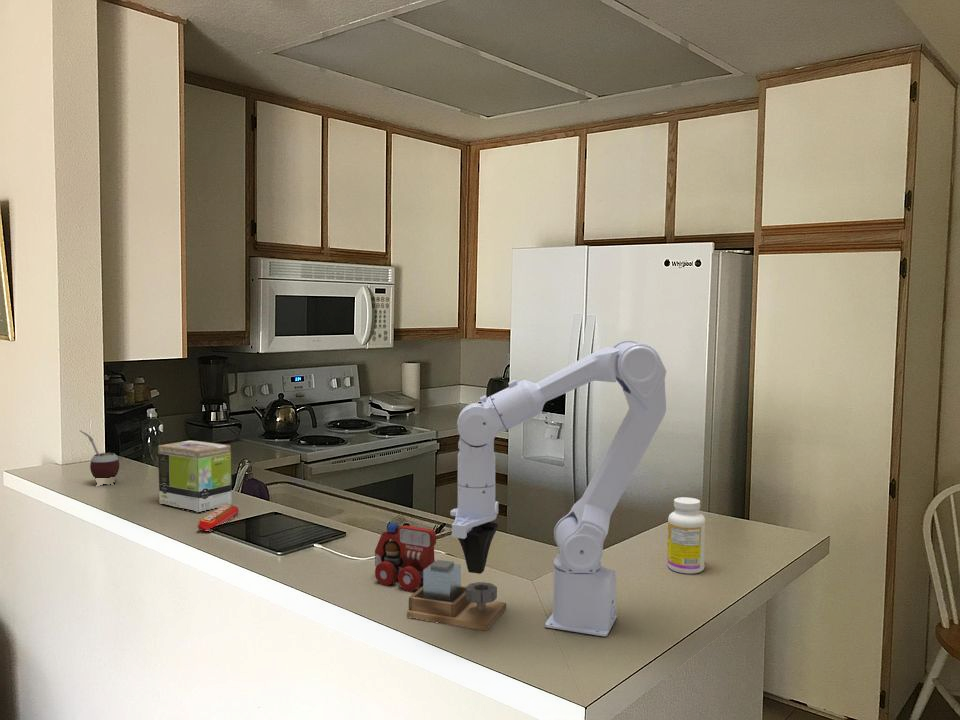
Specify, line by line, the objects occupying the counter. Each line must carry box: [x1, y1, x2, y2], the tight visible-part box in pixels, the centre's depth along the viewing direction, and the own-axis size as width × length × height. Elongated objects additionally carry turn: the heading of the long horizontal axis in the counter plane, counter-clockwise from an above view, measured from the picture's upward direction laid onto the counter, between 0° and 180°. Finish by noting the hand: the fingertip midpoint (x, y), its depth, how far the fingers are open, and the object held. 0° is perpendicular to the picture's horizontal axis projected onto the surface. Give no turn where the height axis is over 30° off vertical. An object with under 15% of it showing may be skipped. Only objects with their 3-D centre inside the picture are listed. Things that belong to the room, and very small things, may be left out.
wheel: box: [466, 581, 498, 604], centre depth 121 cm, size 5×5×2 cm
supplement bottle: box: [667, 496, 706, 575], centre depth 143 cm, size 7×7×13 cm
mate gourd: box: [79, 430, 120, 479], centre depth 207 cm, size 8×8×15 cm
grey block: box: [422, 559, 462, 603], centre depth 123 cm, size 4×4×7 cm
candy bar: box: [197, 504, 240, 531], centre depth 172 cm, size 16×4×3 cm, turn 175°
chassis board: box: [406, 585, 507, 632], centre depth 122 cm, size 13×9×4 cm
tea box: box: [157, 440, 233, 511], centre depth 186 cm, size 15×10×15 cm, turn 58°
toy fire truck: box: [374, 521, 437, 592], centre depth 136 cm, size 7×12×10 cm, turn 58°
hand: (476, 571), depth 118 cm, fingers closed
